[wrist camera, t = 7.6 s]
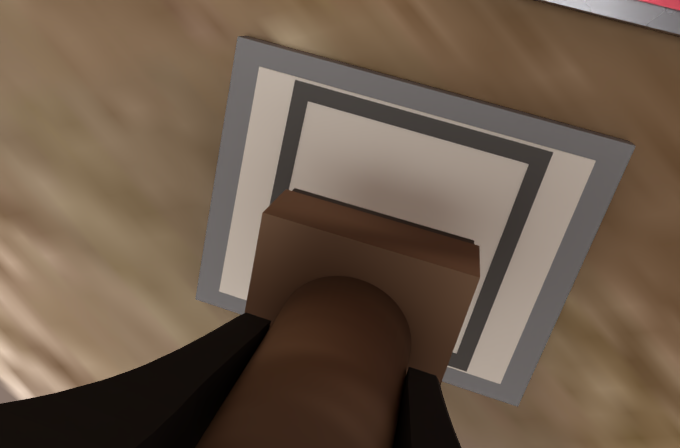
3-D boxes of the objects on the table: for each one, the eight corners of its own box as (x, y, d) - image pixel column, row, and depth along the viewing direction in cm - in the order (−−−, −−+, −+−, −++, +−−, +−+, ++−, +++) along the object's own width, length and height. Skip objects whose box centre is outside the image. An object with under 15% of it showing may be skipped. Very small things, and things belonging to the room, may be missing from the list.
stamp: (479, 238, 14) (484, 500, 7) (424, 391, 16) (381, 725, 9) (291, 183, 15) (104, 369, 7) (261, 338, 17) (89, 608, 9)
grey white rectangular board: (629, 141, 19) (642, 151, 18) (516, 394, 23) (519, 419, 22) (246, 35, 21) (228, 36, 19) (203, 290, 25) (186, 307, 24)
